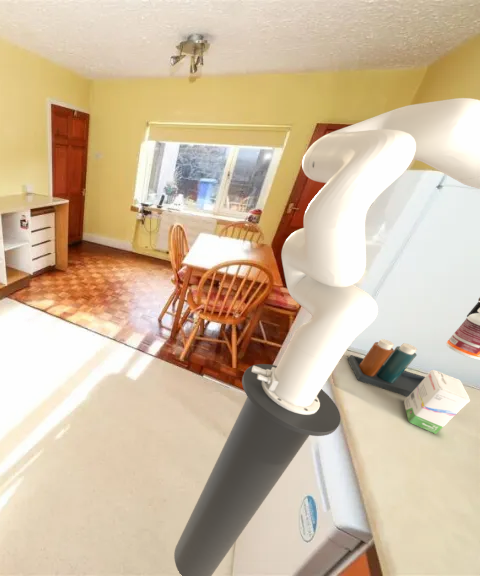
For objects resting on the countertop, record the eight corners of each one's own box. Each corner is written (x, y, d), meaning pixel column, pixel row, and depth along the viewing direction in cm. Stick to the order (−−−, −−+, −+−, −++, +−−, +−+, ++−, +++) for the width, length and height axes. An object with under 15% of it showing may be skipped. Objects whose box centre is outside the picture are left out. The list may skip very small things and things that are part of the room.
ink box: (436, 435, 63) (473, 400, 57) (407, 422, 66) (439, 387, 60) (429, 412, 69) (461, 379, 63) (402, 401, 71) (431, 368, 66)
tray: (357, 380, 77) (361, 375, 76) (347, 358, 86) (350, 354, 85) (447, 409, 70) (452, 404, 69) (426, 382, 78) (430, 378, 78)
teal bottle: (379, 379, 77) (403, 347, 72) (374, 370, 81) (397, 340, 75) (397, 384, 76) (423, 353, 71) (391, 375, 79) (416, 345, 74)
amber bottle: (359, 373, 79) (380, 343, 74) (355, 364, 82) (375, 335, 77) (377, 378, 78) (399, 348, 73) (372, 369, 81) (393, 340, 76)
